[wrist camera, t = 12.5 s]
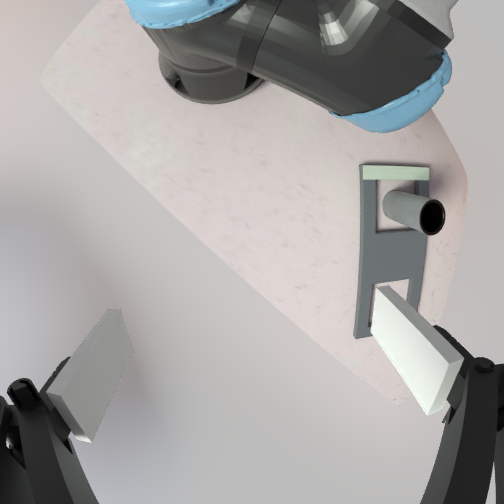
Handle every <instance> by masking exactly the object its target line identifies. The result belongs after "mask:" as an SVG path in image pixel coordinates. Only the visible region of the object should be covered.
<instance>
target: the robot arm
mask: <svg viewBox="0 0 504 504" xmlns="http://www.w3.org/2000/svg"><path fill="white" fill-rule="evenodd" d="M124 1H125V3H126V4H127V6H128V8H129V10H130V14H131V16H132V18H133V19H134V20H135V21H136V22H137V23H139V24H140V25H141V26H142V28H143V29H144V30H145V31H146V33H147V34H148V35H149V37H150V38H151V39H152V41H153V42H154V43H155V44H156V46H157V47H158V48H159V66H160V70H161V73H162V75H163V77H164V79H165V80H166V82H167V83H168V84H169V86H170V87H171V88H172V89H173V90H174V91H175V92H176V93H178V94H179V95H181V96H182V97H184V98H186V99H188V100H190V101H193V102H197V103H202V104H221V103H227V102H231V101H234V100H237V99H239V98H241V97H243V96H245V95H247V94H248V93H250V92H251V91H252V90H254V89H255V88H256V87H257V86H258V85H259V84H260V83H261V81H262V80H263V79H264V80H267V81H269V82H271V83H274V84H276V85H278V86H280V87H283V88H285V89H287V90H289V91H291V92H293V93H295V94H297V95H300V96H302V97H304V98H306V99H308V100H310V101H312V102H313V103H315V104H317V105H319V106H321V107H323V108H325V109H327V110H328V111H329V113H330V114H332V115H333V116H335V117H337V118H341V119H346V120H348V121H349V122H351V123H353V124H355V125H357V126H359V127H360V128H362V129H364V130H366V131H370V132H378V133H388V132H392V131H396V130H399V129H401V128H404V127H406V126H408V125H410V124H411V123H413V122H414V121H416V120H417V119H419V118H420V117H421V116H423V115H424V114H425V113H426V112H427V111H428V110H430V109H431V108H432V107H433V106H434V104H435V103H436V102H437V101H438V100H439V98H440V97H441V95H442V94H443V92H444V89H443V86H444V85H446V84H448V83H449V81H450V77H451V74H452V64H451V60H450V58H449V56H448V53H447V51H446V50H445V49H444V48H445V47H446V46H447V45H448V44H449V43H450V42H451V40H452V39H453V38H454V34H453V29H452V24H451V20H450V10H451V8H452V7H453V6H454V5H455V4H456V3H457V1H458V0H124ZM371 333H372V335H373V336H374V338H375V339H376V341H377V342H378V343H379V345H380V346H381V348H382V349H383V351H384V352H385V353H386V355H387V356H388V358H389V359H390V361H391V362H392V364H393V365H394V366H395V368H396V369H397V371H398V372H399V374H400V375H401V377H402V378H403V380H404V381H405V383H406V384H407V386H408V387H409V389H410V390H411V392H412V393H413V395H414V396H415V398H416V399H417V401H418V402H419V404H420V405H421V407H422V409H423V410H424V412H425V413H426V415H427V416H428V415H431V414H433V413H436V412H438V411H440V410H442V408H443V406H444V404H445V402H446V400H447V401H448V402H449V403H450V405H451V406H450V408H449V410H448V412H447V413H446V415H445V417H444V419H443V421H442V423H444V422H445V420H446V423H445V427H444V431H443V435H442V440H441V444H440V447H439V451H438V454H437V457H436V461H435V464H434V467H433V470H432V473H431V476H430V479H429V482H428V485H427V487H426V490H425V493H424V495H423V498H422V500H421V503H420V504H485V503H486V499H487V494H488V490H489V485H490V480H491V474H492V468H493V462H494V467H495V482H496V504H504V364H498V365H495V364H494V363H493V362H492V361H491V360H489V359H487V358H484V357H477V358H474V357H473V356H472V355H471V354H470V353H469V352H468V351H467V350H466V349H465V348H464V347H463V346H462V345H461V344H460V343H459V342H457V340H456V339H455V338H454V337H452V336H451V335H450V334H449V333H448V332H447V331H446V330H445V329H443V328H441V327H439V326H437V325H434V326H432V325H431V324H430V323H429V322H428V321H427V320H425V319H424V318H423V317H422V316H421V315H420V314H419V313H418V312H417V311H416V310H415V309H414V308H413V307H412V306H411V305H410V304H408V303H407V302H406V301H405V300H404V299H403V298H402V297H401V296H400V295H399V294H398V293H396V292H395V291H394V290H393V289H392V288H391V287H390V286H389V285H388V286H382V287H376V293H375V302H374V311H373V319H372V326H371ZM133 353H134V351H133V348H132V344H131V341H130V338H129V335H128V332H127V329H126V326H125V322H124V319H123V316H122V312H121V309H108V310H107V311H106V313H105V314H104V315H103V316H102V318H101V319H100V320H99V321H98V323H97V324H96V325H95V326H94V328H93V329H92V330H91V332H90V333H89V334H88V335H87V337H86V338H85V339H84V340H83V342H82V343H81V344H80V346H79V347H78V348H77V350H76V351H75V352H74V354H73V355H72V356H71V357H68V358H66V359H65V360H63V361H62V362H61V363H60V364H59V366H58V367H57V368H56V371H54V372H53V374H52V377H50V378H49V379H48V381H47V382H46V383H45V385H44V386H43V388H42V389H41V390H40V392H39V393H38V391H37V389H36V388H35V386H34V384H33V383H32V381H31V380H30V379H27V378H21V379H18V380H16V381H14V382H13V383H12V384H11V385H10V386H9V388H8V390H7V394H8V395H9V397H10V398H11V400H12V401H13V403H14V405H8V403H7V402H6V400H5V399H4V397H2V396H0V504H99V503H98V501H97V499H96V497H95V495H94V493H93V491H92V489H91V487H90V485H89V483H88V481H87V478H86V476H85V474H84V472H83V469H82V467H81V465H80V462H79V460H78V457H77V455H76V452H75V449H74V447H73V444H72V441H71V440H70V439H69V437H68V436H69V433H70V431H72V433H73V434H74V436H75V437H76V438H77V439H78V440H82V441H86V442H91V443H92V442H93V439H94V437H95V435H96V432H97V430H98V428H99V426H100V423H101V421H102V419H103V417H104V414H105V412H106V410H107V408H108V406H109V403H110V401H111V399H112V397H113V394H114V393H115V391H116V388H117V386H118V384H119V382H120V380H121V378H122V375H123V374H124V372H125V369H126V368H127V366H128V364H129V362H130V360H131V358H132V356H133ZM6 440H7V441H8V443H9V448H7V446H6Z"/></svg>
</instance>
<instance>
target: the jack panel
mask: <svg viewBox="0 0 504 504" xmlns="http://www.w3.org/2000/svg"><path fill="white" fill-rule="evenodd" d="M359 170H360V258H359V278H358V292H357V305H356V316H355V325H354V334H353V336H354V337H355V339H359V338H365V337H370V336H373V335H372V333H371V326H372V323H368V321H369V312H370V303H371V294H372V284H377V283H384V282H391V281H398V280H404V279H409V286H408V293H407V300H406V302H407V303H408V304H410V305H411V306H412V307H413V308H414V309H415V310H416V311H417V308H418V302H419V296H420V290H421V283H422V276H423V269H424V260H425V251H426V240H427V235H426V234H424V233H422V232H420V231H417V230H415V229H409V230H395V231H381V232H375V229H376V180H415V195H419V196H423V197H428V198H429V168H426V167H408V166H378V165H359Z"/></svg>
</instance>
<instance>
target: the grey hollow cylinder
mask: <svg viewBox="0 0 504 504" xmlns="http://www.w3.org/2000/svg"><path fill="white" fill-rule="evenodd" d="M382 208H383V212H384V214H385V215H386V216H387V217H388V218H390V219H392V220H394V221H396V222H399V223H401V224H403V225H406V226H408V227H410V228H413V229H415V230H417V231H420V232H422V233H424V234H426V235H430V236H431V235H435V234H437V233H438V232H439V231H440V230H441V229H442V227H443V225H444V223H445V209H444V207H443V205H442V203H441V202H440V201H438V200H435V199H432V198H428V197H423V196H419V195H415V194H411V193H406V192H402V191H396V190H393V191H390V192H388V193H387V194H386V195H385V197H384V199H383V203H382Z"/></svg>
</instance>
